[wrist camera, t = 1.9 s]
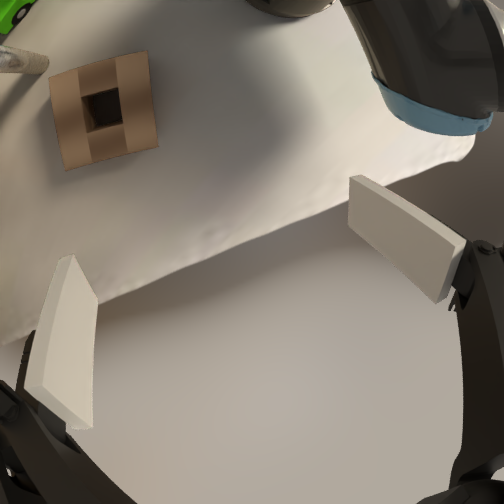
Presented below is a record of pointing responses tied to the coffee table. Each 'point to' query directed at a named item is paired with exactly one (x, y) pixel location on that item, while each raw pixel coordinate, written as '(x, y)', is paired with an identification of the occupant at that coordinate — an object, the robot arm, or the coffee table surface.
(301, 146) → the coffee table surface
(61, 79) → the hole block
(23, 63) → the long pin
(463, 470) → the robot arm
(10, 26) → the toy car
